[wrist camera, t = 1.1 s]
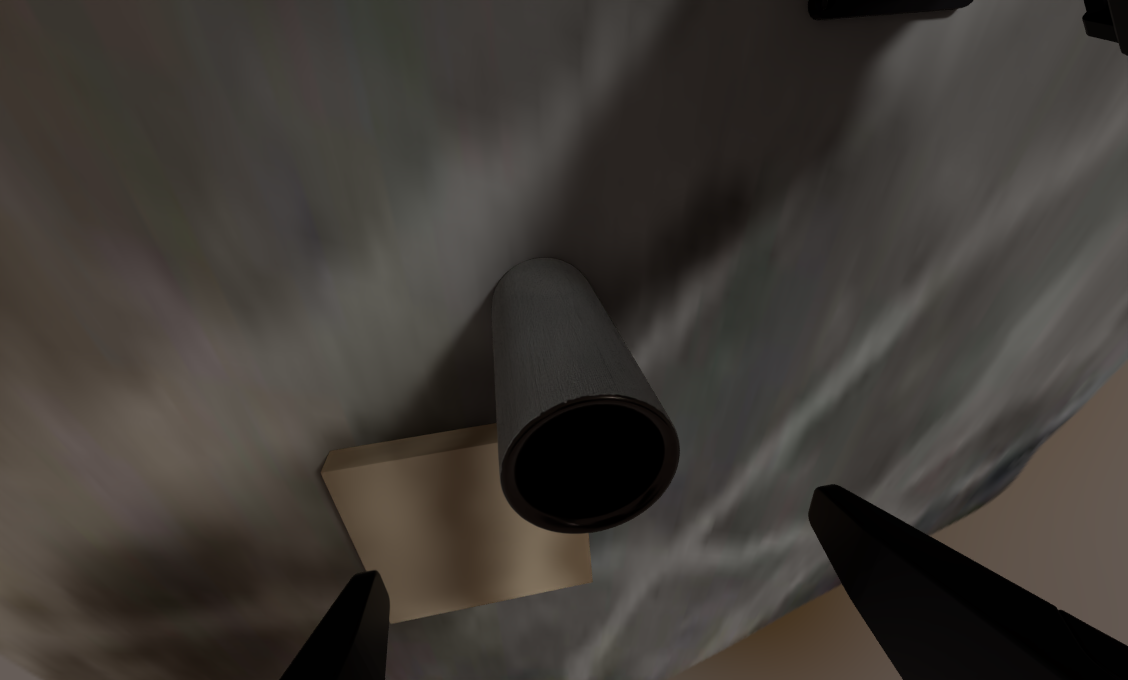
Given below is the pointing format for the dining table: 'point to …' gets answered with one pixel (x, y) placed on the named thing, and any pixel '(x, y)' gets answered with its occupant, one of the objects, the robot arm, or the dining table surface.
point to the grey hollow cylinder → (572, 406)
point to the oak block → (446, 524)
